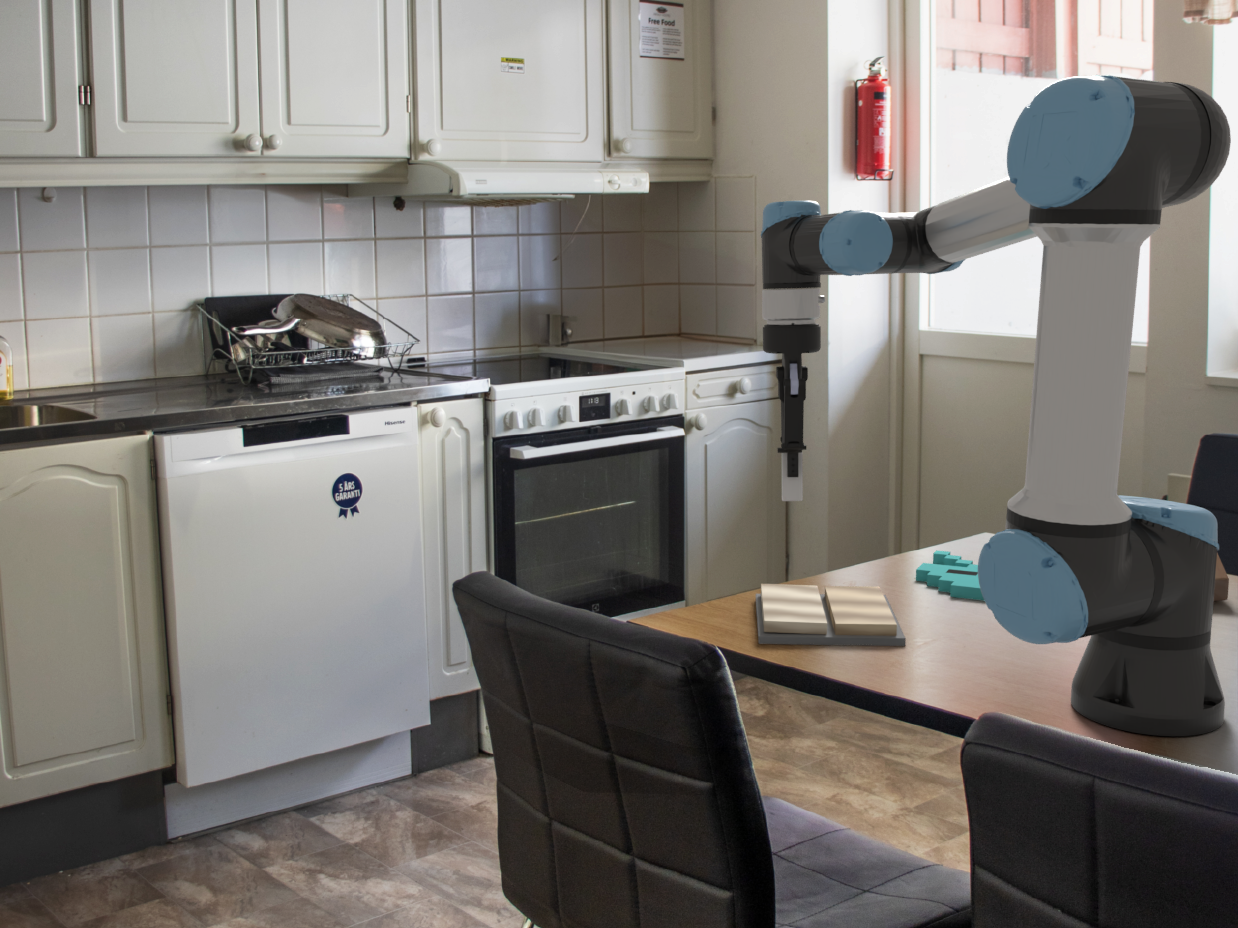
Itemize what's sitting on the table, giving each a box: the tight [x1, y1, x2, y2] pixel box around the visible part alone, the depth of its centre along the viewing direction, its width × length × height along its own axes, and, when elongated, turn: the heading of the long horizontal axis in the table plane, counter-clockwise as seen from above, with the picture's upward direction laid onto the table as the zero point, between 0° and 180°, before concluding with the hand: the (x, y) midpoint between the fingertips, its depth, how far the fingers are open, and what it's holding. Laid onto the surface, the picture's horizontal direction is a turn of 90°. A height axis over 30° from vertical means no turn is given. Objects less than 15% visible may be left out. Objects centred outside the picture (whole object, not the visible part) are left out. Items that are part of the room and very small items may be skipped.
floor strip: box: [824, 585, 897, 636], centre depth 162 cm, size 18×8×2 cm, turn 175°
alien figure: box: [915, 550, 985, 602], centre depth 181 cm, size 20×2×20 cm
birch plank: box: [760, 583, 827, 634], centre depth 163 cm, size 18×8×2 cm, turn 175°
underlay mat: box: [755, 593, 907, 647], centre depth 162 cm, size 20×18×1 cm
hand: (792, 499), depth 160 cm, fingers closed
